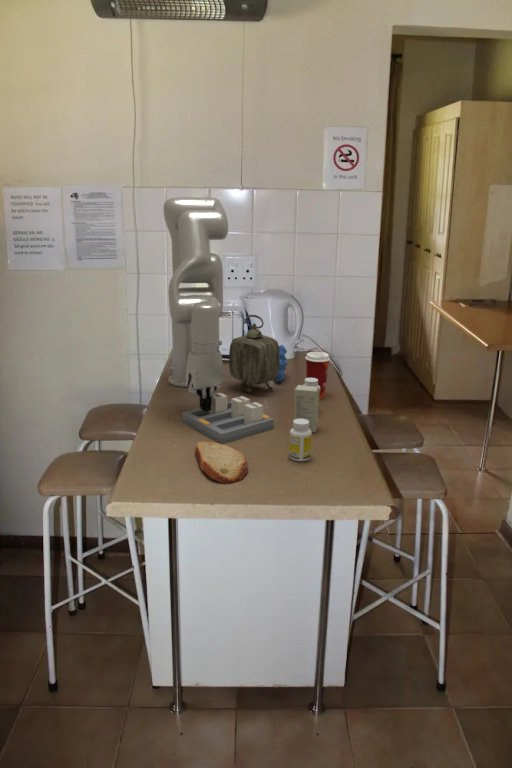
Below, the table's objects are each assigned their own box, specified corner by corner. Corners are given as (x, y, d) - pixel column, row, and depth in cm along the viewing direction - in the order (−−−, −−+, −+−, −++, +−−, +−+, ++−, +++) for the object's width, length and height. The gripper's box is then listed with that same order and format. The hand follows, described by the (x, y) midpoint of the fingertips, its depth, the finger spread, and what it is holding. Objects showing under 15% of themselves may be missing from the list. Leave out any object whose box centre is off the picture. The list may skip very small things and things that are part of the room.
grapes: (269, 374, 232) (270, 340, 229) (288, 375, 231) (290, 342, 228) (265, 384, 221) (265, 349, 218) (285, 385, 220) (286, 351, 217)
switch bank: (182, 421, 188) (182, 411, 187) (232, 408, 199) (233, 399, 198) (221, 443, 174) (221, 433, 173) (273, 428, 185) (274, 418, 184)
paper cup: (332, 399, 209) (334, 356, 205) (310, 401, 206) (312, 358, 202) (320, 391, 216) (323, 349, 211) (299, 393, 213) (301, 351, 209)
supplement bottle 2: (307, 416, 194) (309, 383, 191) (296, 410, 199) (297, 378, 195) (322, 413, 197) (324, 380, 194) (311, 407, 202) (312, 375, 198)
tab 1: (231, 417, 189) (231, 397, 187) (242, 414, 191) (242, 395, 190) (238, 420, 187) (238, 401, 185) (249, 417, 189) (249, 398, 187)
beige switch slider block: (208, 413, 191) (208, 394, 190) (220, 410, 194) (220, 391, 192) (215, 416, 189) (215, 397, 187) (227, 413, 191) (227, 395, 189)
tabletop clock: (278, 392, 214) (281, 316, 206) (262, 399, 208) (264, 321, 200) (243, 382, 223) (244, 309, 215) (226, 389, 216) (226, 314, 208)
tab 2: (244, 423, 185) (244, 403, 183) (255, 420, 187) (255, 401, 185) (251, 427, 182) (251, 407, 180) (262, 424, 185) (263, 404, 183)
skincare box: (318, 427, 186) (320, 386, 183) (315, 433, 183) (317, 391, 179) (295, 424, 188) (297, 383, 184) (292, 430, 184) (294, 388, 180)
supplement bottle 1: (309, 453, 170) (311, 417, 167) (311, 462, 165) (313, 425, 162) (288, 452, 170) (289, 417, 167) (289, 461, 165) (291, 425, 162)
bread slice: (201, 445, 174) (201, 432, 173) (265, 458, 167) (265, 444, 166) (166, 473, 158) (166, 459, 157) (235, 488, 152) (235, 473, 150)
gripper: (219, 340, 189) (219, 400, 195) (174, 348, 181) (175, 411, 186) (235, 346, 184) (234, 408, 190) (189, 354, 175) (190, 419, 181)
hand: (205, 409), depth 188 cm, fingers closed
